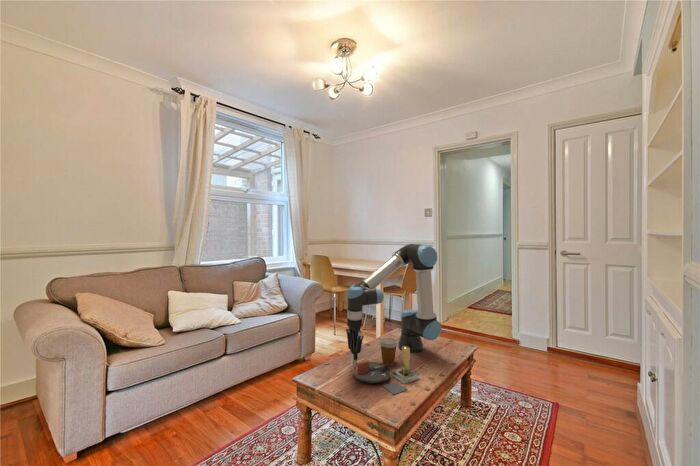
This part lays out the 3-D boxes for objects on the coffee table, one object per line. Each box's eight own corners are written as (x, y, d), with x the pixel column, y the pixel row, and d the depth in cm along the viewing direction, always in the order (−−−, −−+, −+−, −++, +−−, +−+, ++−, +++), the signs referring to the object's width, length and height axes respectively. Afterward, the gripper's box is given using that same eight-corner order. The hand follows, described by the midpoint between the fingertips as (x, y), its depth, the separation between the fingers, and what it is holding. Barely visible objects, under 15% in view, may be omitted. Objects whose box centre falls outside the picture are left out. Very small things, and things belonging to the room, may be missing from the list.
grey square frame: (405, 371, 154) (406, 366, 154) (418, 379, 146) (418, 374, 146) (392, 375, 149) (392, 371, 149) (404, 384, 141) (404, 379, 141)
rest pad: (395, 382, 143) (395, 381, 143) (407, 390, 136) (407, 389, 136) (382, 386, 139) (382, 385, 139) (393, 395, 132) (393, 394, 132)
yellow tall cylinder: (405, 374, 150) (406, 345, 150) (410, 378, 147) (411, 348, 147) (399, 376, 148) (400, 346, 148) (405, 380, 145) (405, 349, 145)
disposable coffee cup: (396, 367, 158) (396, 345, 158) (378, 365, 160) (378, 343, 160) (397, 359, 167) (397, 338, 167) (380, 358, 169) (380, 337, 169)
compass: (375, 362, 160) (375, 349, 160) (397, 377, 145) (397, 362, 145) (346, 370, 151) (346, 356, 151) (367, 387, 135) (367, 371, 135)
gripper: (341, 316, 152) (341, 361, 153) (355, 323, 141) (354, 372, 142) (354, 313, 156) (353, 358, 157) (368, 320, 145) (367, 368, 146)
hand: (354, 365), depth 149 cm, fingers closed
